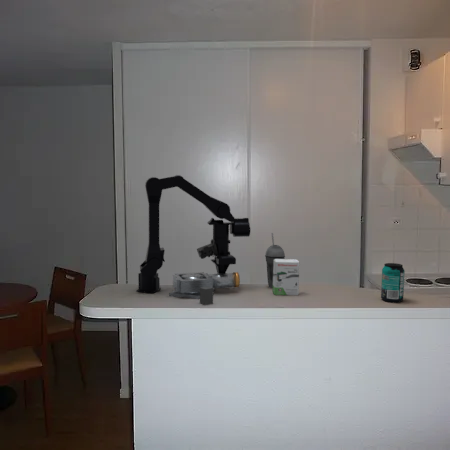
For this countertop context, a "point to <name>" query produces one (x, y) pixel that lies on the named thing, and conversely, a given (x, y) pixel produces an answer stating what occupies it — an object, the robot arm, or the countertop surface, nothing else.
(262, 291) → the countertop surface
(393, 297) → the beverage can
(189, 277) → the duct stub
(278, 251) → the beverage cup
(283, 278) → the ink box
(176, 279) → the flanged pipe fitting
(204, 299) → the block
